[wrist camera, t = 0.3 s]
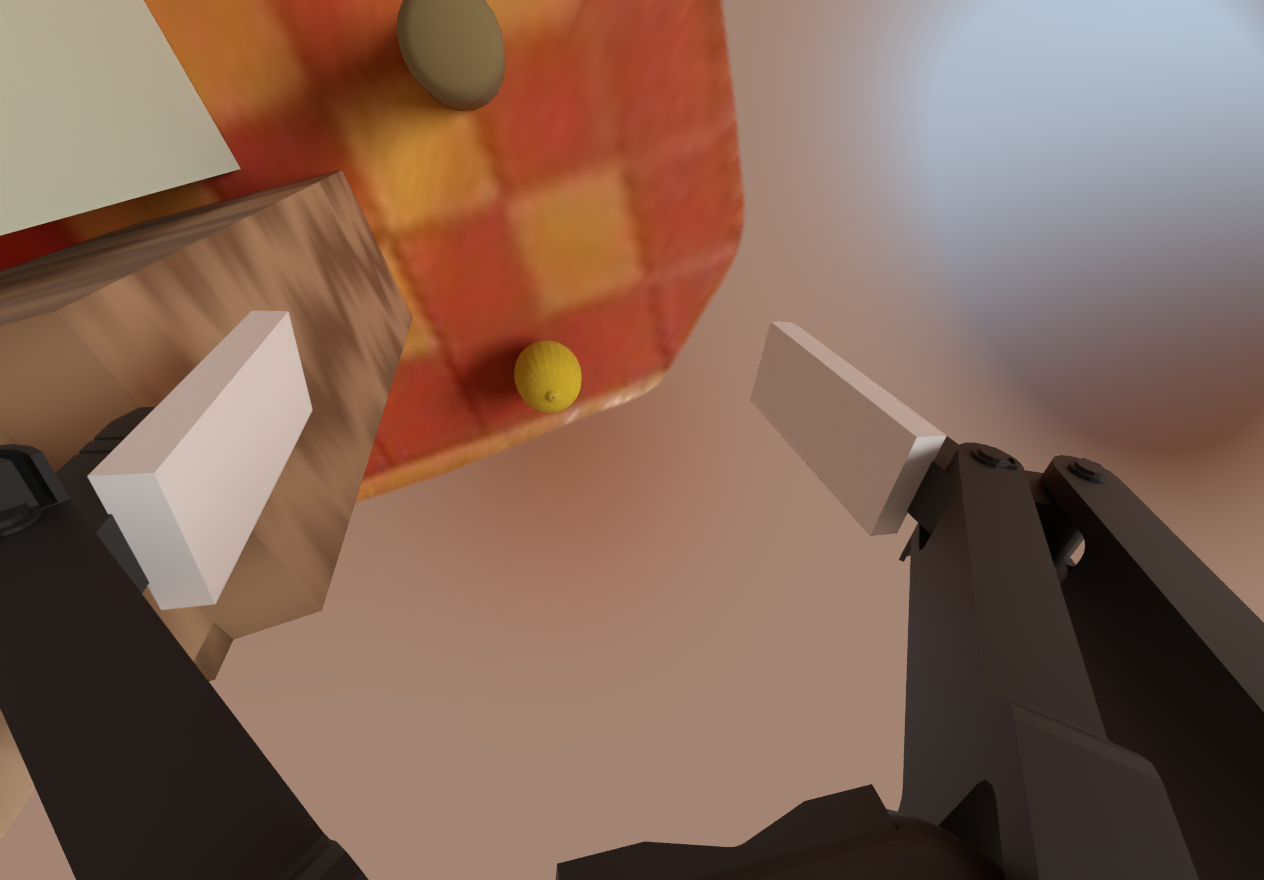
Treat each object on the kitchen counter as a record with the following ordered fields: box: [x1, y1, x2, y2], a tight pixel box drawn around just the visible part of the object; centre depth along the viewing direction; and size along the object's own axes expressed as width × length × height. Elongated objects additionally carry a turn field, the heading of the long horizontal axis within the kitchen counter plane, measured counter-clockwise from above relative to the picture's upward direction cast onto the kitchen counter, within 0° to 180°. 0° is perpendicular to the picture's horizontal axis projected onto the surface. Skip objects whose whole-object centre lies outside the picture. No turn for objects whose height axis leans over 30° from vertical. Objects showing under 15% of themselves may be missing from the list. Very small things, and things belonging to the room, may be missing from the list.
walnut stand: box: [0, 170, 412, 681], centre depth 26 cm, size 11×14×32 cm
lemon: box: [514, 340, 582, 413], centre depth 44 cm, size 6×6×8 cm
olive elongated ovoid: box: [397, 0, 505, 111], centre depth 30 cm, size 6×6×11 cm
